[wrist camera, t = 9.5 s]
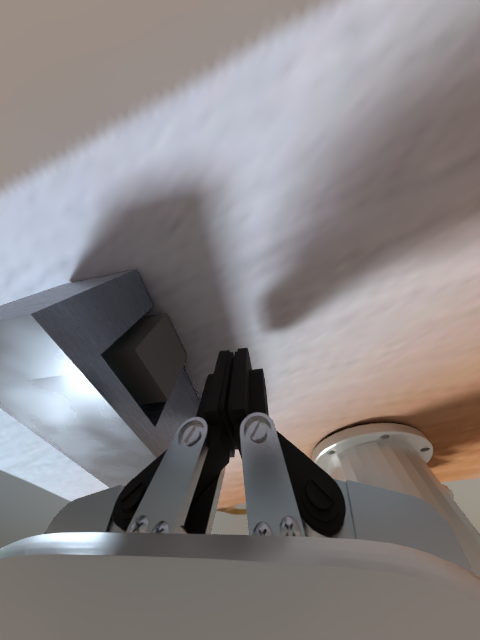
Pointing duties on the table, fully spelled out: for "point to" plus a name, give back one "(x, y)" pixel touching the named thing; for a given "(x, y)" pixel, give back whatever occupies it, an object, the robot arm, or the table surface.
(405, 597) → the robot arm
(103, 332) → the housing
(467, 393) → the table surface
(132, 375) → the plug
